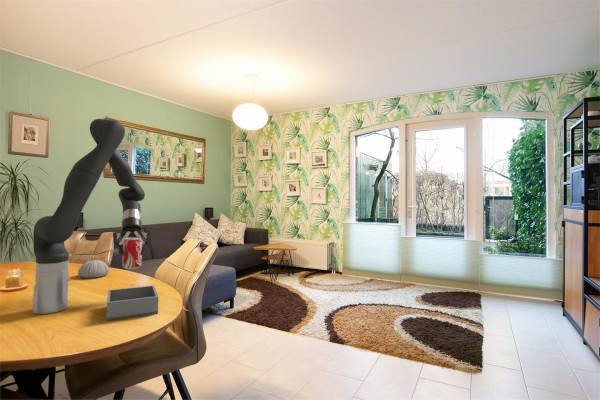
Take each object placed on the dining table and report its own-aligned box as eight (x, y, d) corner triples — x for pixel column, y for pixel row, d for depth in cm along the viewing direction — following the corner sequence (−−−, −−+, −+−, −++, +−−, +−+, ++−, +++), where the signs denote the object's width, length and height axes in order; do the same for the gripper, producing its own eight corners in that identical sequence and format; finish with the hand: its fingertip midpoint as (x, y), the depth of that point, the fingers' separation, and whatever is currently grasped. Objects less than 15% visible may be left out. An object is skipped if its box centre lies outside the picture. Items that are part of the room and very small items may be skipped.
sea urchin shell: (71, 277, 154) (71, 261, 154) (96, 271, 167) (97, 256, 167) (91, 280, 150) (92, 264, 150) (116, 274, 163) (116, 259, 163)
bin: (106, 321, 103) (106, 302, 103) (107, 306, 117) (108, 290, 116) (157, 313, 111) (158, 296, 111) (153, 300, 124) (154, 285, 124)
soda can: (133, 270, 122) (134, 239, 122) (117, 269, 123) (118, 238, 123) (145, 266, 129) (146, 237, 129) (130, 265, 130) (131, 236, 130)
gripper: (112, 216, 129) (111, 249, 119) (151, 216, 136) (152, 247, 126) (112, 227, 133) (110, 260, 123) (149, 227, 141) (151, 258, 131)
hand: (132, 254), depth 125 cm, fingers closed on soda can, 6 cm apart
